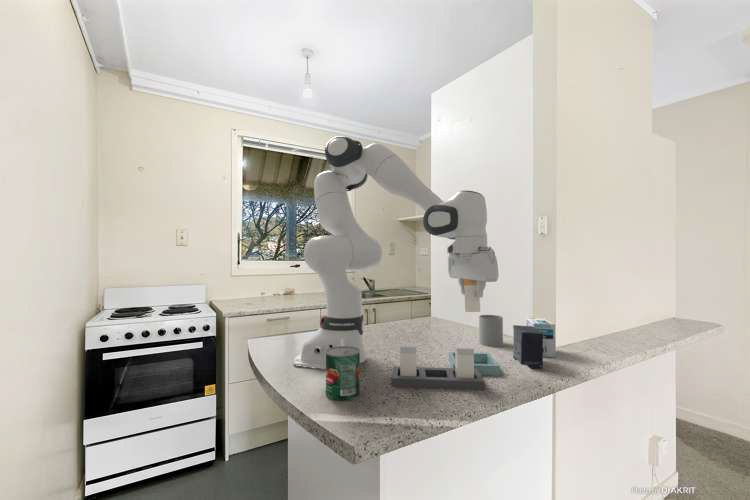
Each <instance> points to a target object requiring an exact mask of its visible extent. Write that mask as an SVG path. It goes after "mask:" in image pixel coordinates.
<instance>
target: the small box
mask: <svg viewBox="0 0 750 500" xmlns="http://www.w3.org/2000/svg"><path fill="white" fill-rule="evenodd" d="M512 329H513V347H512V349H513V351H512V358H513V359H514V360H515V361H517V362H518V363H519V364H520V365H522V366H527V368H530V369H541V370H542V369H543V367H544V361H543V360H544V357H543V333H542V332H540V331H539V330H537V329H536V328H534V327H533V326H527V325H516V324H513V325H512Z"/></svg>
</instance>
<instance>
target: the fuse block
mask: <svg viewBox="0 0 750 500" xmlns="http://www.w3.org/2000/svg"><path fill="white" fill-rule="evenodd" d="M391 374H392V375H391V387H392V388H393V387H395V388H414V389H415V388H417V389H418V388H419V389H440V390H442V389H445V390H446V389H447V390H448V389H449V390H467V391H469V390H470V391H471V390H473V391H486V390H485V387H486V386H485V379H484V378H483V375H481V374H480V373H479V371H478V369H474V378H455V368H451V367H430V366H429V367H428V366H427V367H425V366H416V376H400V365H399V366H396V365H395V366H393V367H392V373H391Z"/></svg>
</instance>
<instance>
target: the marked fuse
mask: <svg viewBox="0 0 750 500" xmlns="http://www.w3.org/2000/svg"><path fill="white" fill-rule="evenodd" d="M476 289H477V285H476V281H474V280H467V279H464V294H465V295H464V309H465V311H464V312H465V313H480V312H481V299H480V298H478V297H475V293H474V291H476Z"/></svg>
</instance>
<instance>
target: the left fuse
mask: <svg viewBox="0 0 750 500" xmlns="http://www.w3.org/2000/svg"><path fill="white" fill-rule="evenodd" d="M399 352H400V353H399V355H400V358H399V359H400V360H399V362H400V363H399V366H400V376H416V367H417V343H416V342H400V346H399Z"/></svg>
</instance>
